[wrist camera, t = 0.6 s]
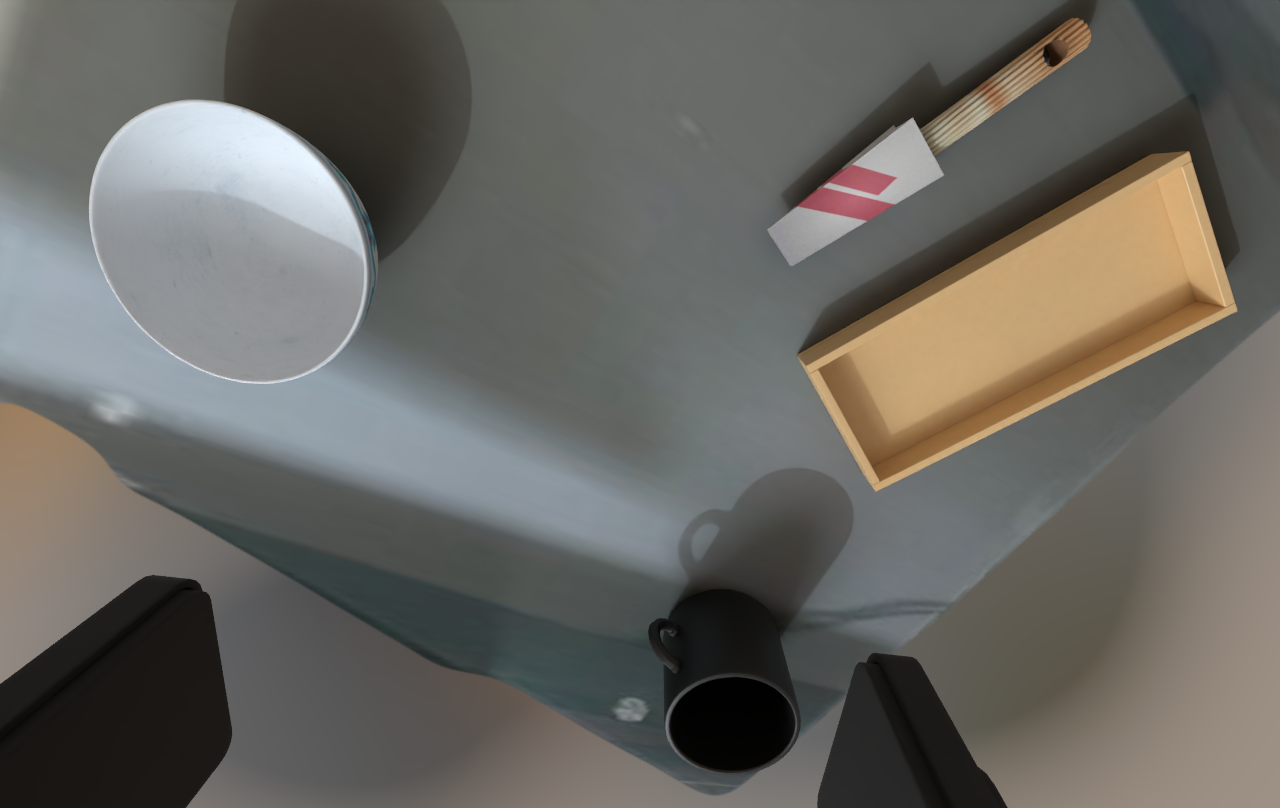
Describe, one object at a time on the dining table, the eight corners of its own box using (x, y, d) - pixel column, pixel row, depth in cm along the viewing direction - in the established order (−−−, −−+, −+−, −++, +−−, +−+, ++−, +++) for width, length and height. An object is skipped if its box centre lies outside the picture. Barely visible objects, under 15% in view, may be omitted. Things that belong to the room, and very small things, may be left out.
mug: (686, 550, 47) (693, 630, 38) (800, 627, 49) (830, 718, 41) (616, 626, 50) (607, 717, 41) (726, 696, 52) (740, 795, 43)
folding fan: (767, 222, 35) (1083, -6, 32) (758, 221, 38) (1049, 10, 35) (800, 276, 36) (1111, 60, 33) (789, 271, 39) (1076, 71, 35)
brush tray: (796, 354, 41) (805, 366, 39) (1151, 153, 36) (1189, 150, 34) (863, 474, 44) (876, 492, 42) (1199, 302, 39) (1238, 310, 37)
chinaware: (327, 69, 36) (245, 38, 29) (463, 290, 40) (421, 312, 33) (145, 190, 39) (27, 190, 32) (290, 385, 43) (216, 425, 36)
